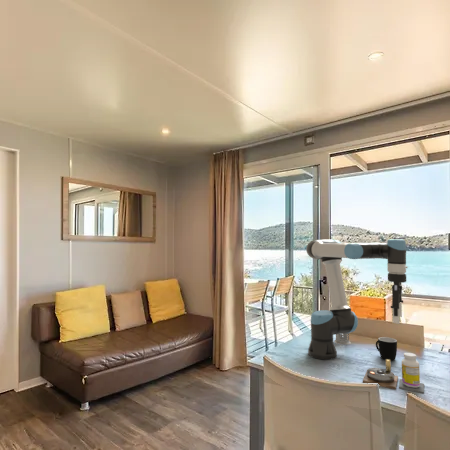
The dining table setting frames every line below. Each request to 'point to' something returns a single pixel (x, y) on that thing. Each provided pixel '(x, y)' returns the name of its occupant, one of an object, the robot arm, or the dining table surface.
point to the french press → (342, 339)
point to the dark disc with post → (381, 373)
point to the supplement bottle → (410, 371)
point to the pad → (418, 389)
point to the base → (383, 384)
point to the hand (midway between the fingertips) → (397, 319)
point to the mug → (387, 348)
